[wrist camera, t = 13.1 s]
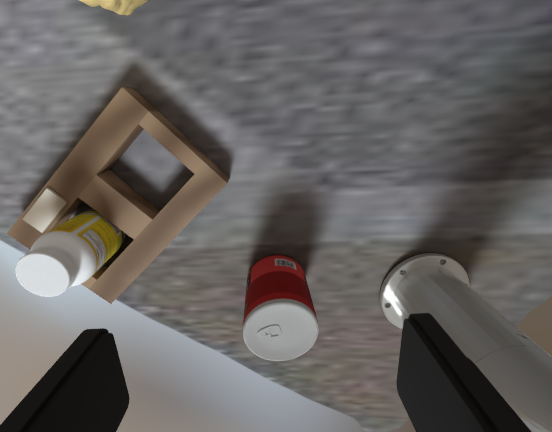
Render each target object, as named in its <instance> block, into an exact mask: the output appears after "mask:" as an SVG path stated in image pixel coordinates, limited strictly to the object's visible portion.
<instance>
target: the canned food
mask: <svg viewBox="0 0 552 432" xmlns="http://www.w3.org/2000/svg"><path fill="white" fill-rule="evenodd" d="M243 336H244V341H245V343H246V345H247V347H248V348H249V349H250V350H251V351H252V352H253V353H254V354H256V355H257V356H259V357H261V358H264V359H267V360H272V361H285V360H290V359H294V358H296V357H299V356H301V355H302V354H304V353H306V352H307V351H308V350H309V349H310V348H311V347H312V346H313V344H314V343H315V341H316V339H317V336H318V321H317V318H316V313H315V310H314V306H313V303H312V299H311V295H310V292H309V288H308V285H307V281H306V277H305V274H304V271H303V269H302V267H301V266H300V265H299V264H298V263H297V262H296V261H295V260H293V259H292V258H290V257H287V256H284V255H271V256H267V257H264V258H262V259H261V260H259V261H258V262H257V263H256V264H255V265H254V266H253V267H252V268H251V270H250V272H249V274H248V277H247V287H246V298H245V309H244V320H243Z"/></svg>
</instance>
